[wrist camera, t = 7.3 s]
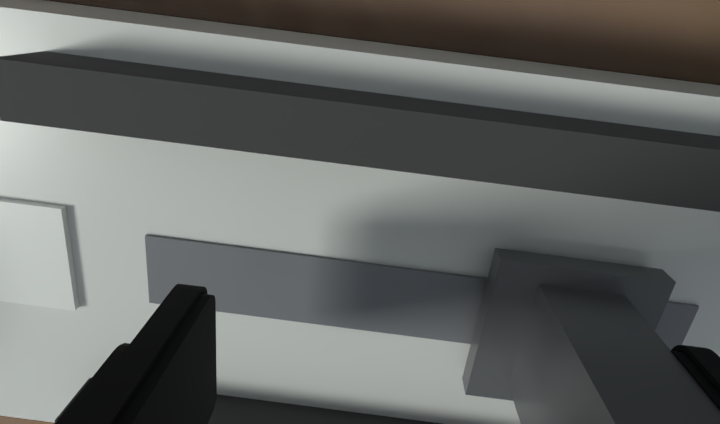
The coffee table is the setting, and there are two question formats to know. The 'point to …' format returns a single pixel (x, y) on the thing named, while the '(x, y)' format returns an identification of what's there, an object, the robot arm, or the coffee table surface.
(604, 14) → the coffee table surface
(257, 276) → the breaker panel
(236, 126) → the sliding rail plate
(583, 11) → the coffee table surface
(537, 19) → the coffee table surface
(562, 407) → the toggle
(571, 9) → the coffee table surface
